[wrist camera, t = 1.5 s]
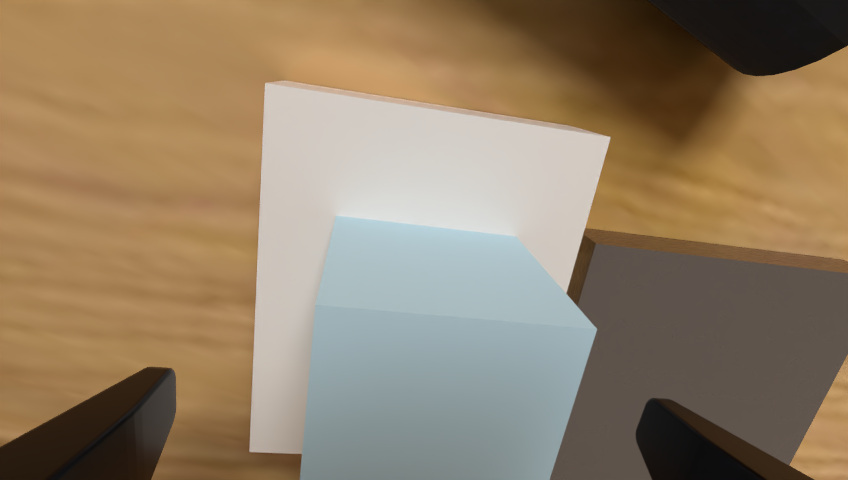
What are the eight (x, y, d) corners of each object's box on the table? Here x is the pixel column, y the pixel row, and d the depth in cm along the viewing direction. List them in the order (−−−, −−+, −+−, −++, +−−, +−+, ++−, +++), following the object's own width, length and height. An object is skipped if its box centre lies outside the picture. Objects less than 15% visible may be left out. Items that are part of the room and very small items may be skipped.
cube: (320, 374, 13) (295, 527, 8) (336, 215, 11) (314, 305, 7) (481, 384, 13) (533, 531, 9) (516, 236, 12) (596, 329, 8)
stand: (267, 394, 15) (249, 452, 13) (285, 80, 12) (264, 83, 10) (497, 407, 17) (518, 462, 14) (569, 125, 13) (610, 136, 11)
